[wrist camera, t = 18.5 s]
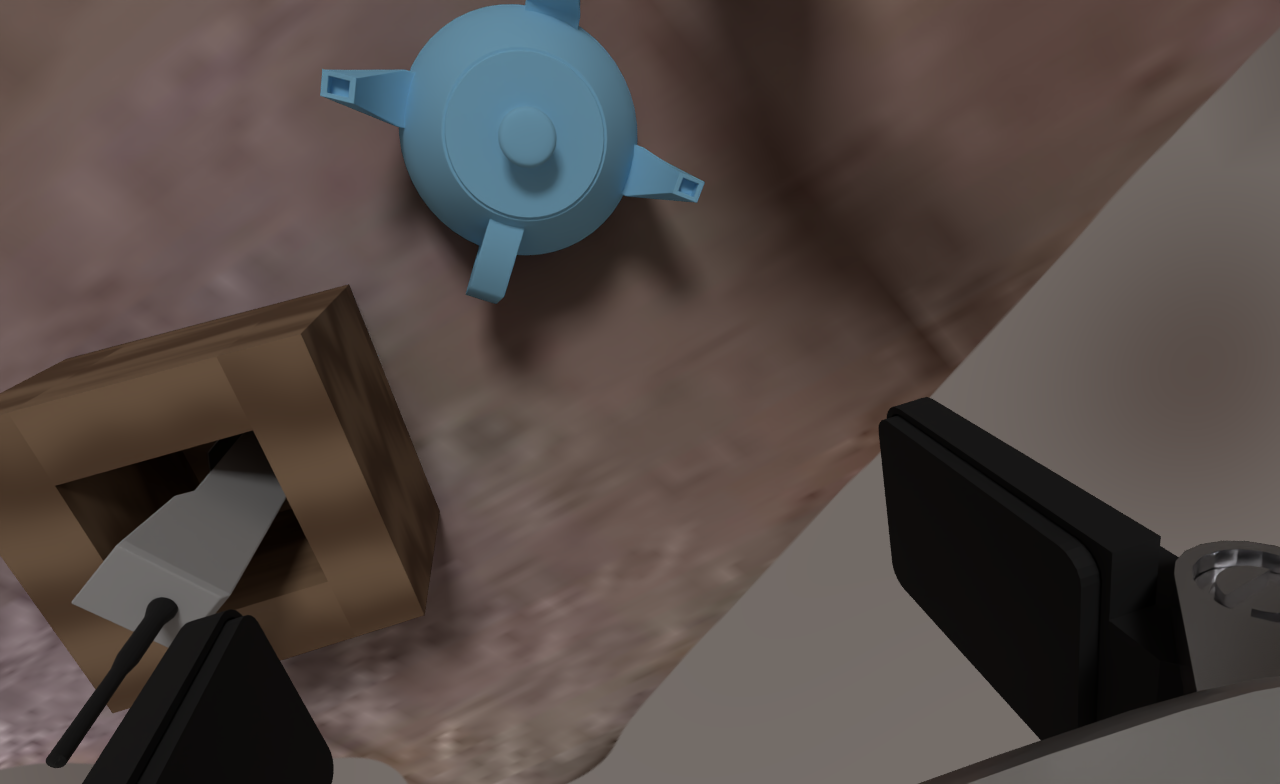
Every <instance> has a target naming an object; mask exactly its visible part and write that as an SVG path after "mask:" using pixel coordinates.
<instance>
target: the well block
mask: <svg viewBox="0 0 1280 784" xmlns="http://www.w3.org/2000/svg"><path fill="white" fill-rule="evenodd" d="M252 430H253V431H254V433H255V435H256V437H257V439H258V441H259V443H260V445H261V447H262V449H263V451H264V453H265V455H266V457H267V459H268V461H269V463H270V466H271V468H272V470H273V472H274V474H275V476H276V478H277V480H278V482H279V484H280V486H281V488H282V490H283V492H284V494H285V496H286V499H285V501H284V503H283V505H282V506H281V508H280V510H279V512H278V513H277V515H276V517H275V519H274V520H273V522H272V524H271V526H270V527H269V529H268V531H267V533H266V534H265V536H264V538H263V540H262V541H261V543H260V545H259V547H258V548H257V550H256V552H255V554H254V555H253V557H252V559H251V561H250V562H249V564H248V566H247V568H246V569H245V571H244V573H243V575H242V576H241V578H240V580H239V582H238V583H237V585H236V587H235V588H234V590H233V592H232V594H231V595H230V597H229V598H228V599H227V600H226V601H225V603H224V604H223V605H222V606H221V607H220V608H219V610H218V611H217V612H216V613H219V612H223V611H226V610H229V609H233V610H236V611H238V612H239V613H241V614H242V616H245V615H252V616H253V617H254V618H255V619H256V620H257V621H258V623H259V624H260V626H261V628H262V630H263V632H264V633H265V635H266V637H267V639H268V640H269V642H270V644H271V646H272V648H273V649H274V651H275V653H276V655H277V656H278V658H279V660H280V661H281V660H284V659H287V658H290V657H293V656H296V655H300V654H303V653H306V652H309V651H312V650H316V649H319V648H322V647H325V646H328V645H331V644H335V643H338V642H341V641H344V640H347V639H351V638H354V637H357V636H360V635H363V634H366V633H370V632H373V631H376V630H379V629H382V628H386V627H389V626H392V625H395V624H398V623H401V622H405V621H408V620H411V619H414V618H417V617H421V616H424V615H425V609H426V602H427V595H428V588H429V581H430V574H431V567H432V560H433V553H434V547H435V540H436V533H437V526H438V519H439V512H440V511H439V509H438V506H437V504H436V501H435V499H434V496H433V494H432V491H431V489H430V486H429V484H428V481H427V479H426V476H425V474H424V471H423V469H422V466H421V464H420V461H419V459H418V456H417V454H416V451H415V449H414V446H413V444H412V441H411V439H410V436H409V434H408V431H407V429H406V426H405V424H404V421H403V419H402V416H401V414H400V411H399V409H398V406H397V404H396V401H395V399H394V396H393V394H392V391H391V389H390V386H389V384H388V381H387V379H386V376H385V374H384V371H383V369H382V366H381V364H380V361H379V359H378V356H377V354H376V351H375V349H374V346H373V344H372V341H371V339H370V336H369V334H368V331H367V329H366V326H365V324H364V321H363V319H362V316H361V314H360V311H359V309H358V306H357V304H356V301H355V299H354V296H353V294H352V291H351V289H350V286H349V285H345V286H341V287H337V288H334V289H330V290H326V291H322V292H318V293H315V294H311V295H307V296H303V297H299V298H296V299H292V300H288V301H284V302H280V303H277V304H273V305H269V306H265V307H262V308H258V309H254V310H250V311H246V312H243V313H239V314H235V315H231V316H227V317H224V318H220V319H216V320H212V321H208V322H205V323H201V324H197V325H193V326H190V327H186V328H182V329H178V330H174V331H171V332H167V333H163V334H159V335H155V336H152V337H148V338H144V339H140V340H136V341H133V342H129V343H125V344H121V345H117V346H114V347H110V348H106V349H102V350H99V351H95V352H91V353H87V354H83V355H80V356H76V357H72V358H68V359H65V360H63V361H61V362H59V363H58V364H56V365H54V366H52V367H50V368H48V369H46V370H44V371H42V372H40V373H38V374H36V375H35V376H33V377H31V378H29V379H27V380H25V381H23V382H21V383H19V384H17V385H15V386H14V387H12V388H10V389H8V390H6V391H4V392H2V393H0V556H1V557H2V558H3V560H4V561H5V563H6V564H7V565H8V567H9V568H10V570H11V571H12V572H13V574H14V575H15V577H16V578H17V580H18V581H19V582H20V584H21V585H22V587H23V588H24V589H25V591H26V592H27V594H28V595H29V596H30V598H31V599H32V601H33V602H34V603H35V605H36V606H37V608H38V609H39V610H40V612H41V613H42V615H43V616H44V617H45V619H46V620H47V622H48V623H49V624H50V626H51V627H52V629H53V630H54V632H55V633H56V634H57V636H58V637H59V639H60V640H61V641H62V643H63V644H64V646H65V647H66V648H67V650H68V651H69V653H70V654H71V655H72V657H73V658H74V660H75V661H76V662H77V664H78V665H79V667H80V668H81V669H82V671H83V672H84V674H85V675H86V676H87V678H88V679H89V681H90V682H91V683H92V685H93V686H94V688H95V689H97V687H98V686H99V684H100V683H101V682H102V680H103V679H104V678H105V676H106V675H107V673H108V672H109V671H110V669H111V667H112V665H113V662H114V660H115V658H116V656H117V654H118V653H119V651H120V650H121V649H122V647H123V646H124V644H125V643H126V642H127V640H128V639H129V637H130V636H131V635H132V633H133V631H131V630H128V629H126V628H124V627H122V626H120V625H118V624H115V623H113V622H111V621H109V620H107V619H104V618H102V617H100V616H98V615H96V614H94V613H91V612H89V611H87V610H85V609H83V608H80V607H78V606H76V605H74V604H72V600H73V599H74V598H75V597H76V595H77V594H78V593H79V592H80V590H81V589H82V588H83V587H84V585H85V584H86V583H87V582H88V580H89V579H90V578H91V576H92V575H93V574H94V573H95V571H96V570H97V569H98V568H99V566H100V565H101V564H102V563H103V561H104V560H105V559H106V558H107V556H108V555H109V554H110V553H111V551H112V550H113V549H114V548H115V546H116V545H117V544H118V543H120V542H121V541H122V540H123V539H124V538H125V537H127V536H128V535H129V534H130V533H131V532H133V531H134V530H135V529H136V528H137V527H138V526H140V525H141V524H142V523H143V522H144V521H146V520H147V519H148V518H149V517H150V516H152V515H153V514H154V513H155V512H156V511H157V510H159V509H160V508H161V507H162V506H163V505H165V504H166V503H167V502H168V501H169V500H171V499H172V498H173V497H174V496H176V495H180V494H184V493H188V492H192V491H195V490H196V488H197V487H198V486H199V485H200V484H201V482H202V481H203V480H204V479H205V478H206V476H207V475H208V474H209V473H210V471H209V463H208V454H207V452H208V451H209V450H210V449H211V447H212V446H213V445H214V444H215V442H216V441H217V440H220V439H224V438H227V437H231V436H234V435H238V434H241V433H245V432H248V431H252ZM216 613H215V614H216ZM167 649H168V647H165V646H163V645H161V644H159V643H157V642H155V641H153V642H152V644H151V645H150V647H149V648H148V650H147V651H146V653H145V654H144V655H143V657H142V658H141V660H140V661H139V663H138V664H137V665H136V666H135V667H134V668H133V669H132V670H131V671H130V672H129V673H128V674H127V675H126V676H125V678H124V679H123V681H122V682H121V684H120V685H119V687H118V688H117V690H116V691H115V693H114V694H113V696H112V697H111V698H110V700H109V701H108V703H107V704H106V705H107V706H108V707H109V709H110V710H111V712H112V713H115V712H118V711H122V710H125V709H128V708H131V706H132V704H133V703H134V701H135V700H136V698H137V697H138V695H139V693H140V692H141V690H142V689H143V687H144V686H145V684H146V682H147V681H148V679H149V678H150V676H151V675H152V673H153V671H154V670H155V668H156V667H157V665H158V664H159V662H160V660H161V659H162V657H163V656H164V654H165V653H166V651H167Z"/></svg>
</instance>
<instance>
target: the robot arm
mask: <svg viewBox="0 0 1280 784" xmlns="http://www.w3.org/2000/svg"><path fill="white" fill-rule="evenodd" d="M879 439H880V449H881V458H882V468H883V477H884V487H885V497H886V506H887V516H888V525H889V535H890V545H891V555H892V563H893V568H894V571H895V574H896V576H897V579H898V581H899V582H900V584H901V585H902V587H903V588H904V589H905V590H906V591H907V593H908V594H909V595H910V596H911V597H912V598H913V599H914V600H915V601H916V603H917V604H918V605H919V606H920V607H921V608H922V609H923V610H924V611H925V612H926V614H927V615H928V616H929V617H930V618H931V619H932V620H933V621H934V622H935V624H936V625H937V626H938V627H939V628H940V629H941V630H942V631H943V632H944V634H945V635H946V636H947V637H948V638H949V639H950V640H951V641H952V642H953V644H954V645H955V646H956V647H957V648H958V649H959V650H960V651H961V652H962V653H963V655H964V656H965V657H966V658H967V659H968V660H969V661H970V662H971V663H972V665H974V666H975V668H976V669H977V670H978V671H979V672H980V673H981V674H982V676H983V677H984V678H985V679H986V680H987V681H988V682H989V683H990V684H991V685H992V687H993V688H994V689H995V690H996V691H997V692H998V693H999V694H1000V696H1001V697H1003V699H1004V700H1005V701H1006V702H1007V703H1008V704H1009V705H1010V707H1011V708H1012V709H1013V710H1014V711H1015V712H1016V713H1017V714H1018V715H1019V717H1020V718H1021V719H1022V720H1023V721H1024V722H1025V723H1026V724H1027V725H1028V726H1029V728H1030V729H1031V730H1032V731H1033V732H1034V733H1035V734H1036V735H1037V736H1038V737H1039V739H1040V740H1041V741H1039V742H1036V743H1032V744H1030V745H1027V746H1024V747H1021V748H1018V749H1015V750H1012V751H1009V752H1006V753H1003V754H1000V755H997V756H994V757H991V758H989V759H986V760H983V761H980V762H977V763H975V764H972V765H969V766H966V767H963V768H961V769H958V770H955V771H952V772H949V773H947V774H944V775H941V776H938V777H935V778H933V779H930V780H927V781H924V782H921V783H919V784H1280V547H1278V546H1274V545H1267V544H1262V543H1255V542H1249V541H1218V542H1211V543H1205V544H1200V545H1198V546H1196V547H1194V548H1191V549H1189V550H1186V551H1185V552H1184V553H1183V554H1182V555H1181V556H1180V557H1177V556H1176V555H1174V554H1172V553H1171V552H1169V551H1167V550H1165V549H1164V548H1163V547H1161V546H1160V539H1161V536H1159V535H1158V534H1156V533H1154V532H1153V531H1151V530H1149V529H1147V528H1146V527H1144V526H1143V525H1141V524H1139V523H1138V522H1136V521H1134V520H1133V519H1131V518H1129V517H1128V516H1126V515H1124V514H1123V513H1121V512H1119V511H1118V510H1116V509H1114V508H1113V507H1111V506H1109V505H1108V504H1106V503H1104V502H1103V501H1101V500H1099V499H1098V498H1096V497H1094V496H1093V495H1091V494H1089V493H1088V492H1086V491H1084V490H1083V489H1081V488H1079V487H1078V486H1076V485H1074V484H1073V483H1071V482H1069V481H1068V480H1066V479H1064V478H1063V477H1061V476H1060V475H1058V474H1056V473H1054V472H1053V471H1051V470H1050V469H1048V468H1046V467H1045V466H1043V465H1041V464H1040V463H1038V462H1036V461H1034V460H1033V459H1031V458H1030V457H1028V456H1026V455H1025V454H1023V453H1021V452H1020V451H1018V450H1016V449H1014V448H1013V447H1011V446H1009V445H1008V444H1006V443H1004V442H1003V441H1001V440H1000V439H998V438H996V437H995V436H993V435H991V434H990V433H988V432H986V431H985V430H983V429H981V428H980V427H978V426H976V425H975V424H973V423H971V422H970V421H968V420H966V419H964V418H963V417H961V416H960V415H958V414H956V413H955V412H953V411H952V410H950V409H948V408H946V407H945V406H943V405H941V404H940V403H938V402H936V401H935V400H933V399H931V398H928V397H925V398H921V399H918V400H914V401H911V402H908V403H905V404H901V405H898V406H895V407H892V408H890V409H889V411H888V414H887V419H885V420H882V421H881V422H880V424H879ZM332 779H333V759H332V755H331V752H330V750H329V747H328V746H327V744H326V742H325V740H324V738H323V737H322V735H321V733H320V731H319V730H318V728H317V726H316V724H315V722H314V721H313V719H312V717H311V715H310V713H309V712H308V710H307V708H306V706H305V705H304V703H303V701H302V699H301V697H300V696H299V694H298V692H297V690H296V689H295V687H294V685H293V683H292V681H291V680H290V678H289V676H288V674H287V673H286V671H285V669H284V667H283V665H282V664H281V662H280V660H279V658H278V656H277V655H276V653H275V651H274V649H273V648H272V646H271V644H270V642H269V640H268V639H267V637H266V635H265V633H264V632H263V630H262V628H261V626H260V624H259V623H258V621H257V620H256V619H255V618H254V617H253V616H252V615H245V616H242V614H241V613H239V612H238V611H236V610H233V609H229V610H226V611H223V612H219V613H216V614H213V615H210V616H206V617H203V618H200V619H197V620H193V621H190V622H188V623H185V624H184V626H183V627H182V628H181V629H180V630H179V632H178V634H177V635H176V637H175V638H174V640H173V641H172V643H171V645H170V646H169V648H168V649H167V651H166V653H165V654H164V656H163V657H162V659H161V660H160V662H159V664H158V665H157V667H156V668H155V670H154V671H153V673H152V675H151V676H150V678H149V679H148V681H147V682H146V684H145V686H144V687H143V689H142V690H141V692H140V693H139V695H138V697H137V698H136V700H135V701H134V703H133V704H132V706H131V708H130V709H129V711H128V712H127V714H126V715H125V717H124V719H123V720H122V722H121V723H120V725H119V726H118V728H117V730H116V731H115V733H114V734H113V736H112V738H111V739H110V741H109V742H108V744H107V745H106V747H105V749H104V750H103V752H102V753H101V755H100V756H99V758H98V760H97V761H96V763H95V764H94V766H93V768H92V769H91V771H90V772H89V774H88V775H87V777H86V779H85V780H84V782H83V783H82V784H331V783H332Z"/></svg>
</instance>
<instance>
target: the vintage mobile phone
mask: <svg viewBox="0 0 1280 784" xmlns="http://www.w3.org/2000/svg"><path fill="white" fill-rule="evenodd" d="M207 454H208V463H209V471H210V473H209V474H208V475H207V476H206V478H205V479H204V480H203V481H202V482H201V484H200V485H199V486H198V487H197V488H196V490H195V491H192V492H188V493H184V494H180V495H176V496H174V497H173V498H172V499H171V500H169V501H168V502H167V503H166V504H165V505H163V506H162V507H161V508H160V509H159V510H157V511H156V512H155V513H154V514H153V515H152V516H150V517H149V518H148V519H147V520H146V521H144V522H143V523H142V524H141V525H140V526H138V527H137V528H136V529H135V530H134V531H133V532H131V533H130V534H129V535H128V536H127V537H125V538H124V539H123V540H122V541H121V542H120V543H118V544H117V545H116V546H115V548H114V549H113V550H112V551H111V553H110V554H109V555H108V556H107V558H106V559H105V560H104V561H103V563H102V564H101V565H100V566H99V568H98V569H97V570H96V571H95V573H94V574H93V575H92V576H91V578H90V579H89V580H88V582H87V583H86V584H85V585H84V587H83V588H82V589H81V590H80V592H79V593H78V594H77V595H76V597H75V598H74V599H73V600H72V604H74V605H76V606H78V607H80V608H83V609H85V610H87V611H89V612H91V613H94V614H96V615H98V616H100V617H102V618H104V619H107V620H109V621H111V622H113V623H115V624H118V625H120V626H122V627H124V628H126V629H128V630H131V631H133V633H132V635H131V636H130V637H129V639H128V640H127V642H126V643H125V644H124V646H123V647H122V649H121V650H120V651H119V653H118V654H117V656H116V658H115V660H114V662H113V665H112V667H111V669H110V671H109V672H108V673H107V675H106V676H105V678H104V679H103V680H102V682H101V683H100V684H99V686H98V687H97V689H96V690H95V691H94V693H93V694H92V696H91V697H90V698H89V700H88V701H87V703H86V704H85V705H84V707H83V708H82V710H81V711H80V712H79V714H78V715H77V717H76V718H75V719H74V721H73V722H72V723H71V725H70V726H69V728H68V729H67V730H66V732H65V733H64V735H63V736H62V737H61V739H60V740H59V742H58V743H57V744H56V746H55V747H54V749H53V750H52V751H51V753H50V754H49V755H48V757H47V758H46V763H47V765H48V766H50V767H53V768H60V767H63V766H64V765H66V763H67V762H68V760H69V759H70V757H71V756H72V754H73V753H74V751H75V750H76V748H77V747H78V745H79V744H80V743H81V741H82V740H83V738H84V737H85V735H86V734H87V732H88V731H89V729H90V728H91V726H92V725H93V723H94V722H95V721H96V719H97V718H98V716H99V715H100V713H101V712H102V710H103V709H104V707H105V706H106V704H107V703H108V701H109V700H110V698H111V697H112V696H113V694H114V693H115V691H116V690H117V688H118V687H119V685H120V684H121V682H122V681H123V679H124V678H125V676H126V675H127V674H128V673H129V672H130V671H131V670H132V669H133V668H134V667H135V666H136V665H137V664H138V663H139V661H140V660H141V658H142V657H143V655H144V654H145V653H146V651H147V650H148V648H149V647H150V645H151V644H152V642H153V641H155V642H157V643H159V644H161V645H163V646H165V647H168V648H169V646H170V645H171V643H172V641H173V640H174V638H175V637H176V635H177V634H178V632H179V630H180V629H181V628H182V627H183V626H184V624H185V623H188V622H190V621H193V620H197V619H200V618H203V617H206V616H210V615H213V614H215V613H216V612H217V611H218V610H219V608H220V607H221V606H222V605H223V604H224V603H225V601H226V600H227V599H228V598H229V597H230V595H231V594H232V592H233V590H234V588H235V587H236V585H237V583H238V582H239V580H240V578H241V576H242V575H243V573H244V571H245V569H246V568H247V566H248V564H249V562H250V561H251V559H252V557H253V555H254V554H255V552H256V550H257V548H258V547H259V545H260V543H261V541H262V540H263V538H264V536H265V534H266V533H267V531H268V529H269V527H270V526H271V524H272V522H273V520H274V519H275V517H276V515H277V513H278V512H279V510H280V508H281V506H282V505H283V503H284V501H285V499H286V496H285V494H284V492H283V490H282V488H281V486H280V484H279V482H278V480H277V478H276V476H275V474H274V472H273V470H272V468H271V466H270V463H269V461H268V459H267V457H266V455H265V453H264V451H263V449H262V447H261V445H260V443H259V441H258V439H257V437H256V435H255V433H254V431H253V430H252V431H248V432H245V433H241V434H238V435H234V436H231V437H227V438H224V439H220V440H217V441H216V442H215V444H214V445H213V446H212V447H211V449H210V450H209V451H208V452H207Z"/></svg>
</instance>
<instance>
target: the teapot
mask: <svg viewBox="0 0 1280 784" xmlns="http://www.w3.org/2000/svg"><path fill="white" fill-rule="evenodd" d="M579 20H580V0H526V3H525V5H518V4H503V5H495V6H488V7H483V8H480V9H477V10H474V11H470V12H468V13H466V14H464V15H462V16H460V17H458V18H456V19H454V20H453V21H451V22H450V23H448V24H447V25H445V26H444V27H443V28H441V29H440V30H439V31H438V32H437V33H436V34H435V35H434V36H433V37H432V38H431V39H430V40H429V41H428V42H427V44H426V45H425V46H424V47H423V49H422V50H421V51H420V53H419V54H418V56H417V58H416V60H415V61H414V63H413V65H412V67H411V69H410V71H407V70H324V69H322V82H321V94H320V96H323V97H325V98H328V99H330V100H332V101H335V102H337V103H340V104H342V105H345V106H347V107H350V108H352V109H355V110H357V111H360V112H362V113H364V114H367V115H369V116H372V117H374V118H377V119H379V120H382V121H384V122H387V123H389V124H391V125H394V126H397V127H399V136H400V143H401V150H402V154H403V158H404V161H405V165H406V168H407V170H408V173H409V175H410V178H411V180H412V182H413V184H414V186H415V188H416V189H417V191H418V193H419V195H420V196H421V198H422V199H423V201H424V202H425V203H426V205H427V206H428V207H429V209H430V210H431V211H432V212H433V213H434V214H435V215H436V216H437V217H438V218H439V219H440V221H442V222H443V223H444V224H445V225H446V226H448V227H449V228H450V229H451V230H452V231H454V232H455V233H457V234H459V235H460V236H462V237H463V238H465V239H466V240H468V241H470V242H473V243H475V244H477V245H479V248H478V252H477V256H476V259H475V263H474V266H473V270H472V273H471V277H470V281H469V284H468V288H467V291H466V295H469V296H472V297H475V298H478V299H481V300H485V301H488V302H491V303H494V304H497V303H498V302H499V301H500V300H501V299H502V298H503V297H504V296H505V293H506V289H507V286H508V283H509V279H510V276H511V273H512V269H513V266H514V263H515V259H516V256H517V255H539V254H545V253H550V252H555V251H558V250H561V249H564V248H567V247H569V246H571V245H573V244H575V243H577V242H579V241H581V240H582V239H584V238H585V237H587V236H588V235H590V234H591V233H593V232H594V231H595V230H596V229H597V228H598V227H600V226H601V225H602V224H603V223H604V222H605V221H606V219H607V218H608V217H609V216H610V215H611V214H612V213H613V211H614V210H615V208H616V207H617V205H618V204H619V202H620V201H621V199H622V197H623V195H625V196H628V197H639V198H651V199H662V200H674V201H685V202H696V203H697V201H698V199H699V196H700V193H701V191H702V188H703V185H704V183H705V182H704V181H702V180H700V179H698V178H696V177H694V176H692V175H690V174H688V173H686V172H684V171H682V170H680V169H679V168H677V167H675V166H673V165H671V164H669V163H667V162H665V161H663V160H661V159H660V158H658V157H657V156H655V155H654V154H652V153H651V152H649V151H648V150H646V149H645V148H643V147H641V146H638V145H637V122H636V115H635V109H634V105H633V101H632V98H631V94H630V91H629V89H628V87H627V84H626V82H625V79H624V77H623V75H622V74H621V72H620V70H619V68H618V67H617V65H616V63H615V62H614V61H613V59H612V58H611V56H610V55H609V54H608V52H607V51H606V50H605V49H604V48H603V47H602V46H601V45H600V44H599V42H598V41H597V40H596V39H595V38H593V37H592V36H591V35H590V34H589V33H587V32H586V31H585V30H584V29H582V28H581V27H579V26H578V25H579Z"/></svg>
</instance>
